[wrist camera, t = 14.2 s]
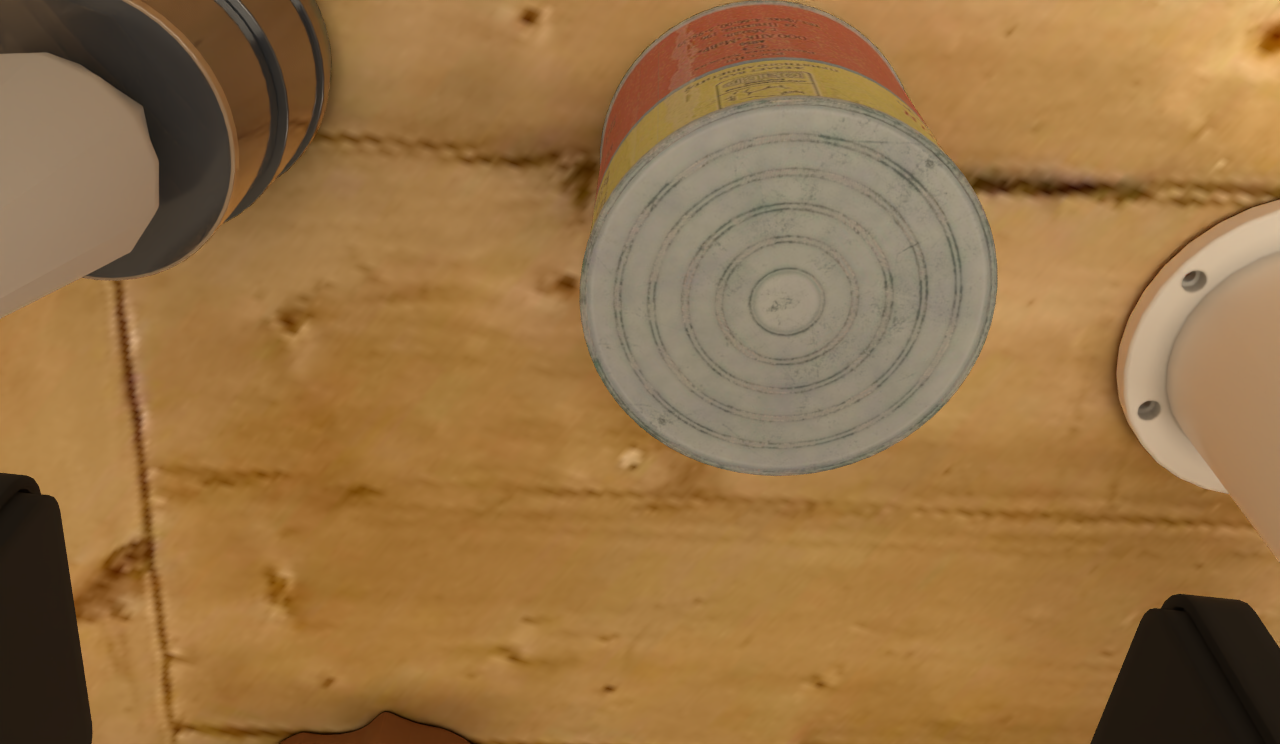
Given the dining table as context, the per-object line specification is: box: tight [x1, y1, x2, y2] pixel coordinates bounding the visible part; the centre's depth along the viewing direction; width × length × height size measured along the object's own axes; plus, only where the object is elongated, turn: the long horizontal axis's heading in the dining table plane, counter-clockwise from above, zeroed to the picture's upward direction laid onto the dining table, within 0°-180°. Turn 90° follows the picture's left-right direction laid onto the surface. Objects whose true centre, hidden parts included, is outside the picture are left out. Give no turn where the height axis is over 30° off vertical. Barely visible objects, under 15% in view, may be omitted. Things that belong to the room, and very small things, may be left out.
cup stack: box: [0, 0, 332, 281], centre depth 37 cm, size 9×9×10 cm
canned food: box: [580, 0, 997, 476], centre depth 37 cm, size 11×11×12 cm
